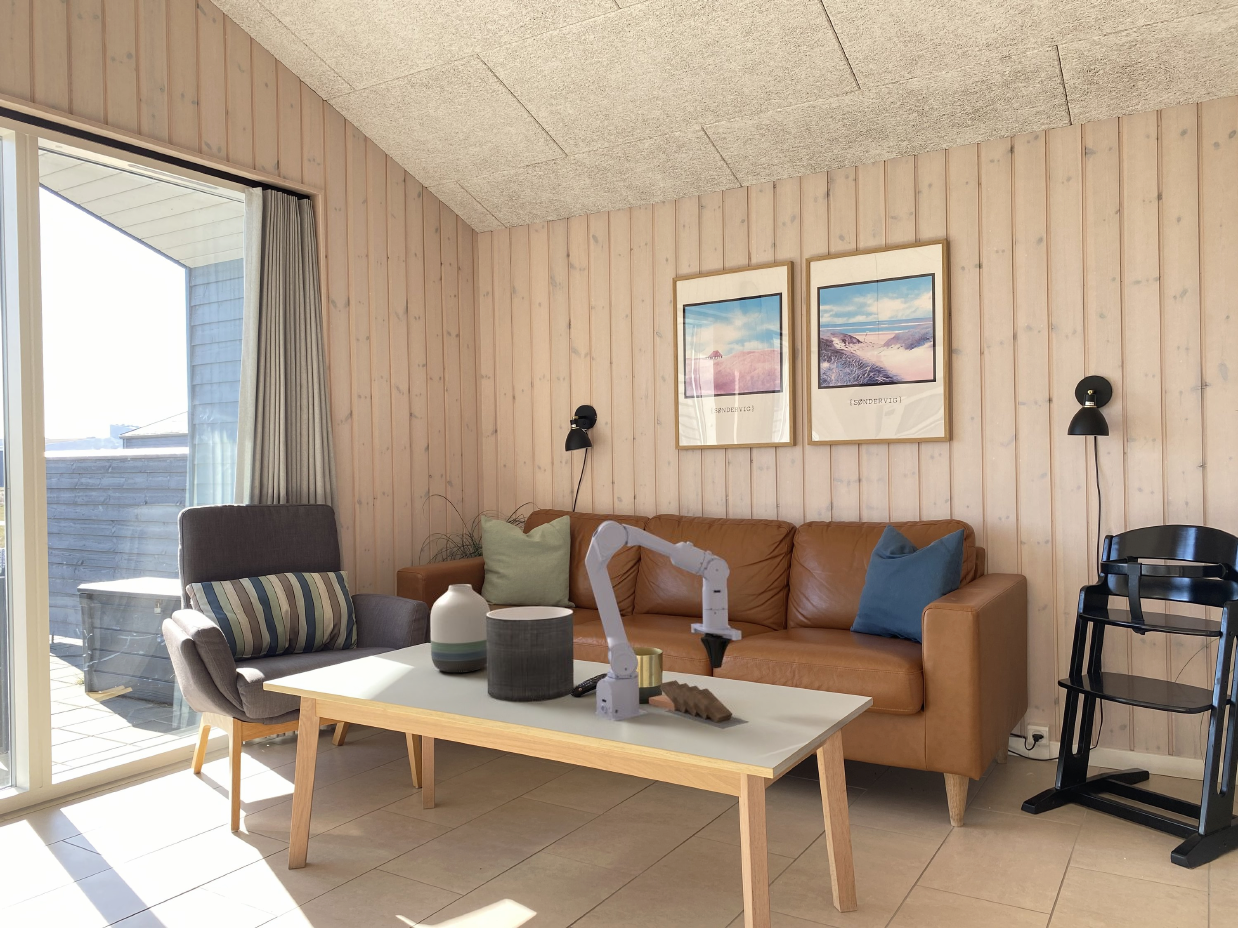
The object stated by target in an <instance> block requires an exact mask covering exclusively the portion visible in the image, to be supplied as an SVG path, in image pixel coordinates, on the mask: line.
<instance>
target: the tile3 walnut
mask: <svg viewBox="0 0 1238 928" xmlns="http://www.w3.org/2000/svg"><path fill="white" fill-rule="evenodd" d="M687 687H691V686H689V684H688V683H685V682H684V683H679V685H675V686H672V688H671V690H670V692H671V693H672V694H673V695H674V696H675V697H676V698H677V699H678V701H679V702H680V703H681V704H682V705H683V706H684V707H685V708H686V709H687V710H688V711H689V712H690V713H691V714H692V715H693V716H694V717H695V716H699V715H700V714H699V713H698V712H697V711H696V710H695V709H694V708H693V707H692V706H691V705H690V704H689V703H688V702H687V701H686V700H685V699H684V698H683V697H682V696H681V695H680V693H681V690H682V689H683V688H687Z"/></svg>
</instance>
